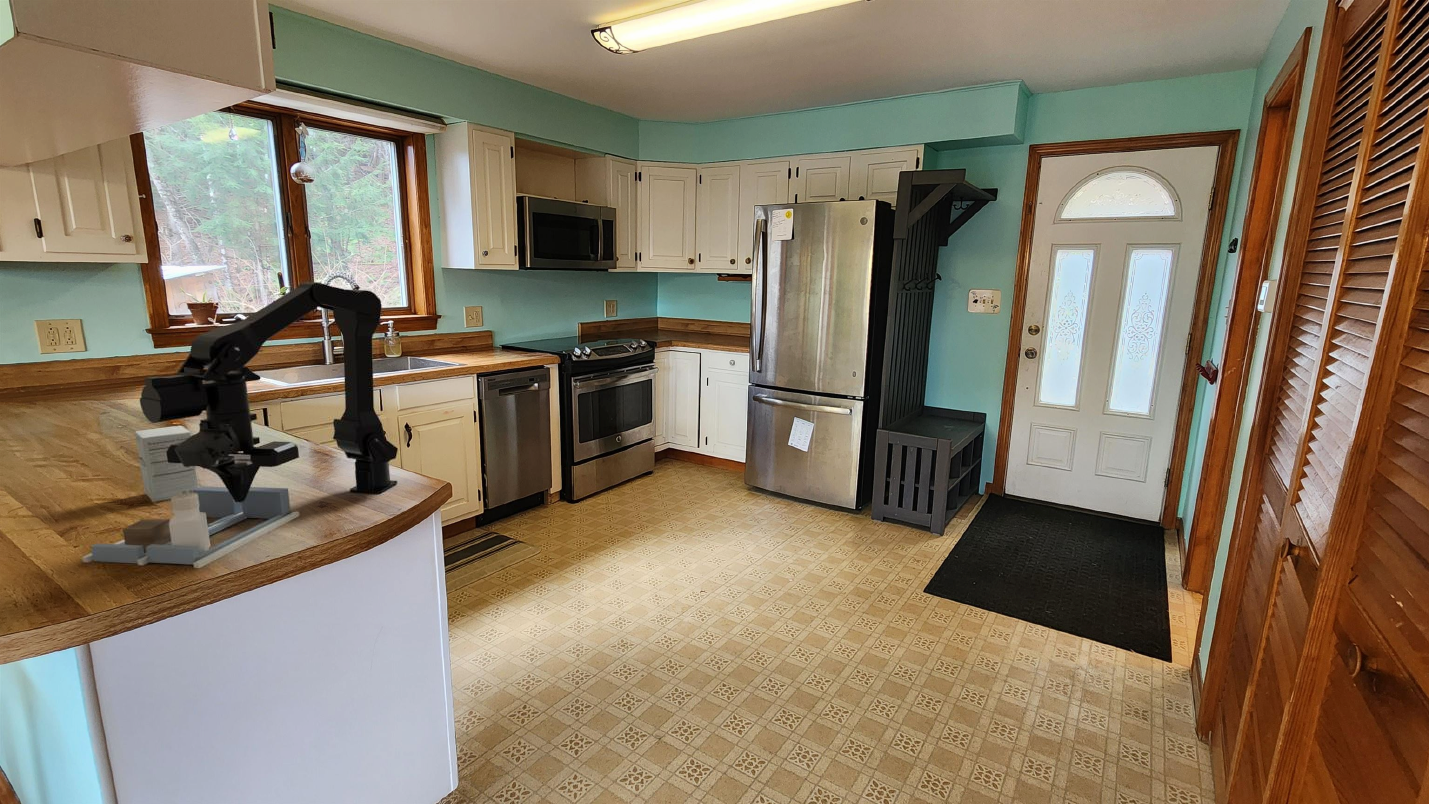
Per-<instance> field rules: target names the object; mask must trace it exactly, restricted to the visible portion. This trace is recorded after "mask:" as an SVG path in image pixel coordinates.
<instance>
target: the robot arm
mask: <svg viewBox="0 0 1429 804" xmlns="http://www.w3.org/2000/svg"><path fill="white" fill-rule="evenodd" d="M382 307H383V306H382V301H381V299H380V297H378V296H377V294H376V293H375V292H373V291H371V290H367V289H365V290H364V289H344V288H340V287H335V286H332V285H329V284H326V283H323V282H319V281H318V282H316V281H303V282H301V283H300V284H299V285H297V286H296V288H295V287H294V289H292V290H291V291H289V292H287V293H285V294H284V295H283V296H281V297H279V298H278V299H277V298H276V300H274V301H272V302H271V303H269V304H267V305H266V306H264V307H263V308H261V309H259V310H258V311H256V312H254V313H253V314H251V315H249V316H248V317H246V318H244V319H243V320H241V321H237V322H234V323H231V324H227V325H223V326H220V327H217V328H214V329H211V330H209V331H206V332H204V333H202V334H199V335H197V336H196V337H195V338H194V339H193V340H192V341H191V343H190V345H191V347H190V353H189V354H188V356H187V357H186V358H185V360H184V361H183V363H182V365H181V366H180V368H179V369H178V371H177V372H176V374H175V375H169V376H147V377H144V383H145V385H144V387H143V388H142V390H141V394H140V395H141V396H140V397H139V404H140V407H141V411H142V413H143V415H144V416H145V418H146V419H147V420H148V421H149V422H150V423H152V424H155V423H157V424H158V423H162V422H163V423H164V422H170V421H177V420H181V419H187V418H193V417H199V416H201V414H202V413H203V412H204V411H205V415H206V418H204V419H200V422H199V424H198V425H199V431H198V432H197V433H195V434H193V435H192V434H191V437H189V438H188V439H187V440H185V441H183V442H179V443H176V444H173V445H170V447H169V448H168V450H167V452H166V453H167V460H168V463H182V464H183V466H184V467H190V466H196V467H200V468H201V469H205V470H208V471H211V472H213V473H214V474H216V475H217V476H218V477H219V479H221V481H222V483H223V484H224V487H226V488H227V489H228V491H229V492H230V494H231V496H232V497H233V499H234V500H235V502H243V501H245V499H246V496H247V494H248V491H249V489H250V487H252V484H253V481H254V480H255V477H256V475H257V473H258V471H259V469H260V468H261V467H262V468H273V467H274V468H275V467H278V466H281V465H283V464H286V463H289V462H291V461H293V460H296V459H299V458H300V456H299V455H300V453H299V447H298V445H297V444H296V443H294V441H274V440H273V441H271V442H268V443H264V444H262V445H260V446H255V445H258V444H261V439H260V436H259V437H257V436H254V434H253V426H252V425H253V424H252V422H253V421H256V420H258V415H257V413H251V409H250V404H249V403H250V402H249V395H248V387H247V383H248V382H254V381H260V380H261V379H262V378H261V376H260V375H259V374H257V373H255V372H254V371H252V370H251V369H250V368H249V367H248V366H246V365H247V364H248V363H250V361H251V360H252V359H253V358H255V357H256V356H257V355H258V353H259V352H260V350H261V348H262V347H263V345H264V344H265V343H266V342H267V341H268V340H269V339H271V338H272V337H274V336H276V335H277V334H278V333H280V332H282V331H283V330H284V329H286V328H288V327H289V326H291V325H292V324H294V323H295V322H297V321H298V320H300V319H302V318H303V317H305V316H306V315H308V314H309V313H311V312H313V311H315V309H317V308H320V309H323V310H327V311H332V314H333V320H334V323H335V325H336V326H337V327H338V330H339V332H340V333H341V335H342V338H343V342H342V343H343V344H342V345H343V368H344V369H343V371H344V372H343V375H344V397H345V398H344V399H345V400H344V401H345V404H344V405H345V407H344V408H345V409H344V412H343V413H342V416H341V417H340V418H334V419H333V424H332V425H333V430H334V433H333V434H334V435H333V437H332V440H335V441H336V445H337V447H338V448H339V449H341V450H342V451H343V452H344V454H345V457H346V459H352V460H355V462H354V469H355V470H354V475H355V486H353V487H352V488H351V487H350V489H349V492H352V493H371V494H372V493H373V494H381V493H383V492H384V491H387V490H388V489H389V488H391V487H393V486H396V485H397V484H398V480H392V479H391V475H390V462H391V461H392V460H395V459H396V458H397V454H398V450H399V448H398V447H397V446H395V445H394V444H393V443H392V442H390V441H389V440H388V439H386V438H385V432H384V428H383V423H382V421H381V419H380V418H379V416H378V414H377V412H376V411H375V403H374V401H375V400H374V399H375V398H374V394H375V392H374V363H373V362H374V361H373V358H374V357H373V356H374V355H373V336H374V334H375V332H376V330H377V329H378V326H379V325H380V322H381V316H382V315H381V314H382ZM206 368H207V369H206Z"/></svg>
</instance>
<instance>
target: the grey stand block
mask: <svg viewBox="0 0 1429 804" xmlns="http://www.w3.org/2000/svg"><path fill="white" fill-rule="evenodd" d="M241 503H242V511H243V513H242V514H240V515H238V516H236V517H233V518H231V519H229V520H227V521H225V522H223V523H220V524H218V525H216V526H214V527H212V528H210V529H208V532H209V536H211V535H214V534H215V533H217V532H220V531H222V530H223V529H226V528H227V527H231V526H232V525H235V524H237V523H239V522H242V521H243V520H246V519H247V518H249V519H251V518H252V519H267V520H265V521H263V522H262V523H259V524H258V525H255V526H253V527H252V528H250V529H247V530H245V531H243V532H241V533H240V534H237V535H235V536H233V537H231V538H229V539H227V540H226V541H223V542H221V543H219V544H217V545H215V546H213V547H211V548H209V550H207V551H205V552H203V553H201V554H199V550H198V547H196V546H176V545H156V544H152V545H149V546H147V547H146V552H147V558H148V562H149V563H156V564H157V563H158V564H176V565H178V564H180V565H193V566H194V562H196V561H198V560H200V559H202V558H204V557H206V556H208V555H210V554H212V553H214V552H216V551H218V550H220V549H222V548H224V547H226V546H228V545H230V544H232V543H234V542H236V541H238V540H240V539H242V538H244V537H246V536H247V535H249V534H251V533H253V532H255V531H257V530H259V529H261V528H263V527H265V526H267V525H269V524H271V523H273V522H275V521H277V520H279V519H281V518H283V517H285V516H287V515H289V514H291V513H292V511H291V502H290V495H289V488H284V487H283V488H282V487H266V486H265V487H263V486H262V487H261V486H259V487H257V486H251V487H250V489H249V491H248V494H247V496H246V499H245V501H243V502H241Z"/></svg>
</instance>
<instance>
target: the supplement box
mask: <svg viewBox="0 0 1429 804" xmlns="http://www.w3.org/2000/svg"><path fill="white" fill-rule="evenodd" d="M134 436H135V441H136V442H135V443H136V449H137V454H138V460H139V461H138V462H139V466H140V474H141V477H142V486H143V490H144V494H145V495H146V496H148V497H149V499H150V500H151V502H153V503H157V502H161V501H162V502H163V501H167V500H168V501H169V500H171V498H172V497H173V496H176V495H179V494H185V493H193V490H194V489H196V488H199V480H198V479H199V478H198V473H197V466H190V467H184V466H183V464H182V463H168V460H167V453H166V452H167V450H168V448H169V447H170V445H173V444H176V443H179V442H183V441H185V440H187V439H188V438H189V437H191V436H192V432H191V431H189V429H188V428H185V426H182V425H174V426H166V427H165V426H164V427H159V428H151V429H143V430H136V431H134Z"/></svg>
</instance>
